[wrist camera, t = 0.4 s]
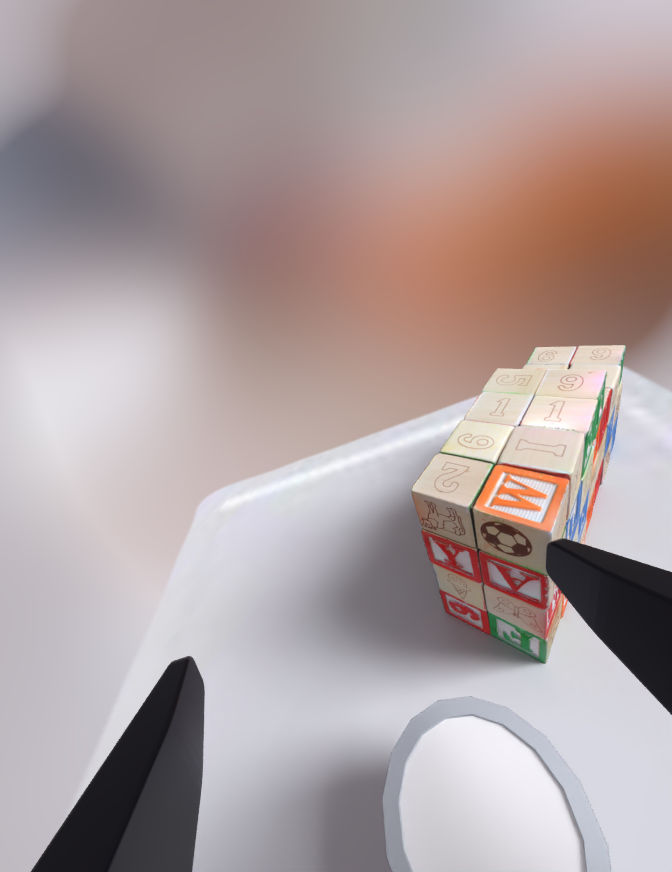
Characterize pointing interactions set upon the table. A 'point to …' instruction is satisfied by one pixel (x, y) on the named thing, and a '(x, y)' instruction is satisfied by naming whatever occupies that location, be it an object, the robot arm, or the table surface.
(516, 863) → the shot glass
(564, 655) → the table surface
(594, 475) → the stack of blocks
